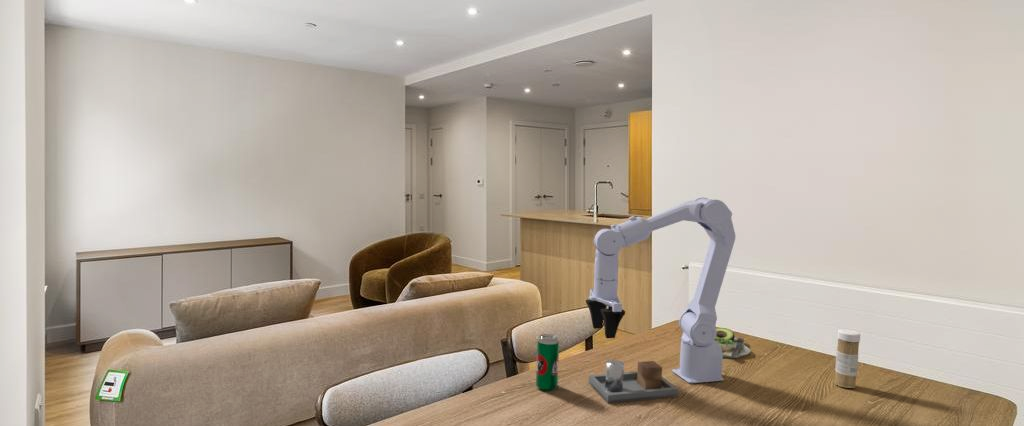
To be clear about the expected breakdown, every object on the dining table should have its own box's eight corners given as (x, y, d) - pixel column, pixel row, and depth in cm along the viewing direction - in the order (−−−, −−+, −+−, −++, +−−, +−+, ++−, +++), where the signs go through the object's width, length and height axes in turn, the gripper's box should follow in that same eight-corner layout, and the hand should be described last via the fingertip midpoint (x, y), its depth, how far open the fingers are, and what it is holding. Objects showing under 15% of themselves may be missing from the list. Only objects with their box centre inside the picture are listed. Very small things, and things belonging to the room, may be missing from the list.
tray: (653, 377, 128) (653, 370, 128) (677, 396, 118) (678, 388, 118) (588, 382, 124) (588, 375, 124) (607, 403, 114) (608, 395, 113)
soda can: (556, 392, 118) (558, 341, 117) (534, 390, 119) (535, 339, 118) (558, 384, 123) (560, 334, 122) (537, 381, 124) (539, 332, 123)
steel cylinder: (617, 384, 122) (618, 359, 122) (625, 391, 118) (627, 365, 118) (601, 385, 121) (603, 360, 121) (609, 392, 117) (610, 366, 117)
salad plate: (766, 364, 140) (767, 348, 139) (698, 362, 140) (699, 345, 140) (738, 341, 159) (739, 326, 158) (678, 338, 160) (679, 323, 159)
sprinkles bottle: (847, 382, 128) (852, 328, 127) (860, 390, 124) (865, 334, 123) (829, 381, 128) (833, 328, 127) (841, 389, 124) (846, 334, 122)
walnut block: (652, 381, 124) (653, 360, 124) (661, 388, 120) (662, 367, 120) (637, 382, 123) (638, 362, 123) (645, 389, 120) (646, 368, 119)
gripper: (579, 272, 134) (577, 324, 135) (602, 285, 120) (600, 343, 121) (605, 272, 135) (603, 323, 137) (631, 284, 121) (628, 341, 123)
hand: (603, 332), depth 129 cm, fingers open, 7 cm apart
